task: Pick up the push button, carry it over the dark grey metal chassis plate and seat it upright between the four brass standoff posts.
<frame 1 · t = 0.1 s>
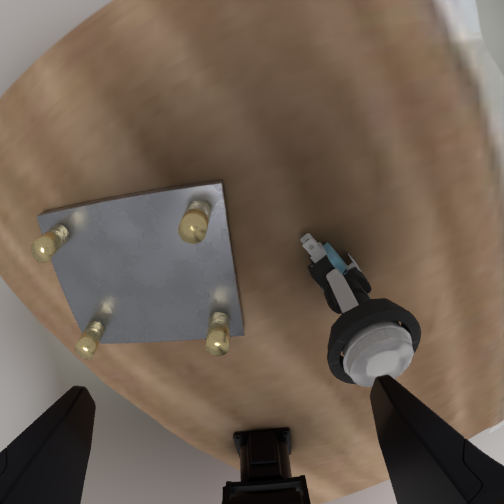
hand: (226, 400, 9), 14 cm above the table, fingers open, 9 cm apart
chassis: (141, 272, 23), on the table
push button: (330, 261, 24), on the table
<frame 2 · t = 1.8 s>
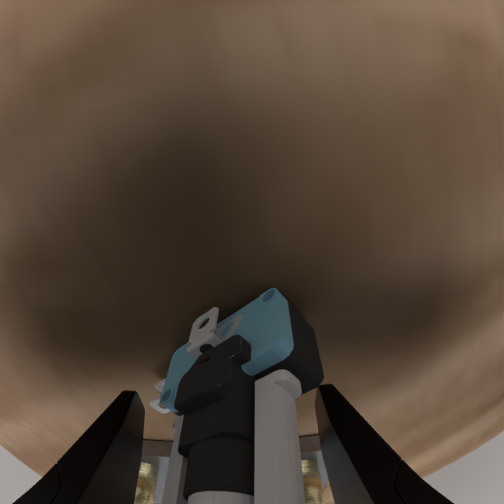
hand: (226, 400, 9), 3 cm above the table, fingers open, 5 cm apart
chassis: (231, 488, 17), on the table
push button: (222, 341, 11), on the table, touching gripper
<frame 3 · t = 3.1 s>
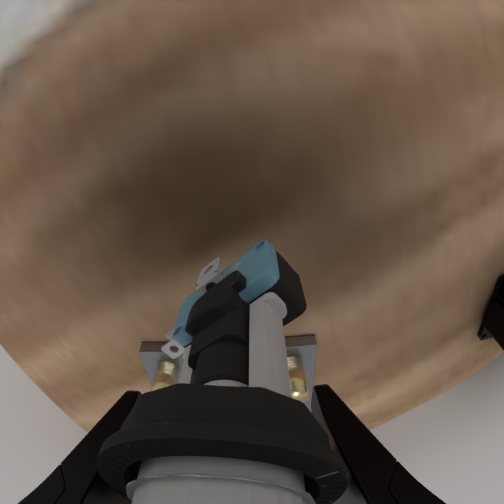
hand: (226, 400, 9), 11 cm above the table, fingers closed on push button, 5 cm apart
chassis: (234, 402, 24), on the table
push button: (224, 291, 14), point 5 cm above the table, touching gripper
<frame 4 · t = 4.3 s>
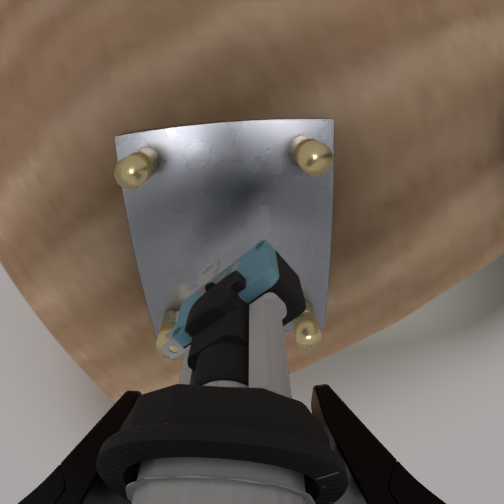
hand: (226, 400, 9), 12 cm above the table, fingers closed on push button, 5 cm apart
chassis: (231, 237, 20), on the table
push button: (223, 291, 14), point 7 cm above the table, touching gripper
when the fingers open (6 cm above the table, at t = 5.4 s): push button stays where it is, resting on chassis.
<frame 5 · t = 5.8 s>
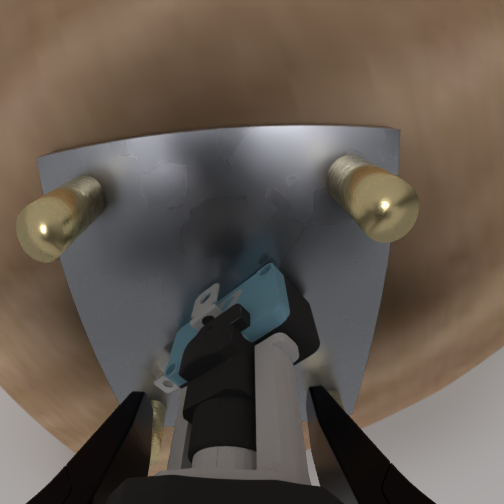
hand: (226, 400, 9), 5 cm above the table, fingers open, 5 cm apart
chassis: (226, 309, 13), on the table
push button: (223, 319, 12), point 1 cm above the table, touching chassis, gripper
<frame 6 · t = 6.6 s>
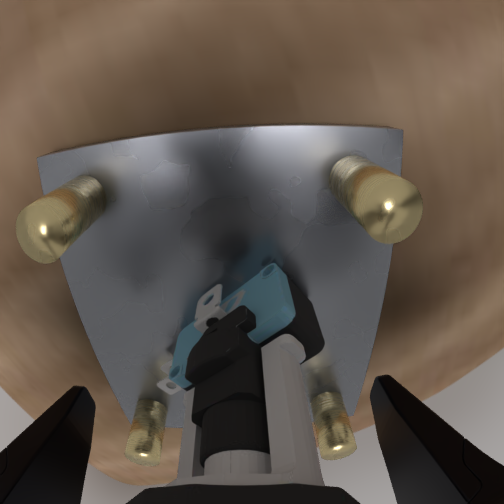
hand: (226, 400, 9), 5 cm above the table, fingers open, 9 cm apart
chassis: (228, 310, 13), on the table
push button: (225, 319, 12), point 1 cm above the table, touching chassis
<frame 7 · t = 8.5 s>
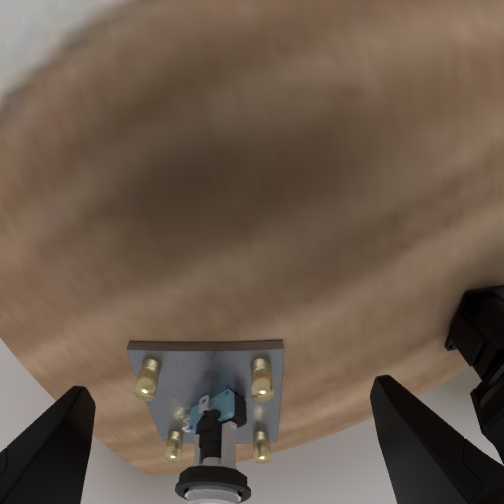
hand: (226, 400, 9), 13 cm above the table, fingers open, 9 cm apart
chassis: (212, 398, 27), on the table
push button: (211, 404, 26), point 1 cm above the table, touching chassis
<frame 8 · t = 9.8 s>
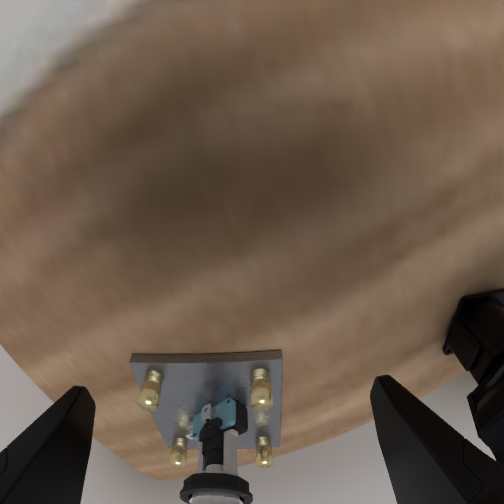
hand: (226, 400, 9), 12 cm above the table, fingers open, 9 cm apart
chassis: (214, 406, 27), on the table
push button: (213, 411, 27), point 1 cm above the table, touching chassis
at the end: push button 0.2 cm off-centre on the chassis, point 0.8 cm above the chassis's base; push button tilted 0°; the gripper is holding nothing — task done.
